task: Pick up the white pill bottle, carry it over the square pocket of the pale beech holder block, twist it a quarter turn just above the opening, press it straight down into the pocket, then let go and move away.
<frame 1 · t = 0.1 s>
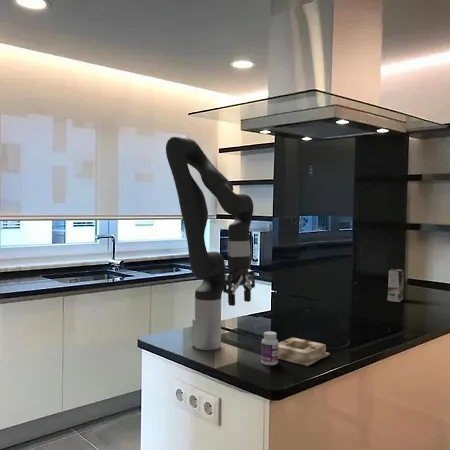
hand: (239, 303, 163), 17 cm above the table, tool pointing down, fingers open, 8 cm apart
pill bottle: (269, 363, 156), on the table
coffee box: (395, 300, 260), on the table
holder: (298, 355, 164), on the table
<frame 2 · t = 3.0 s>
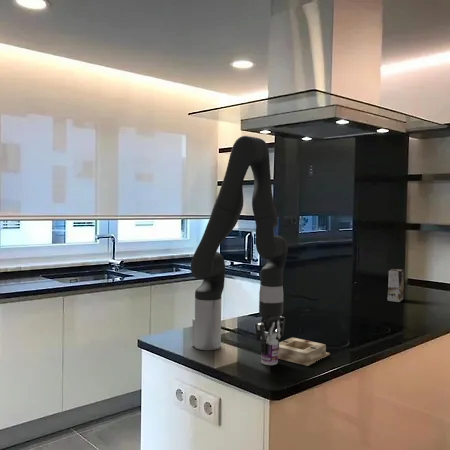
hand: (270, 352, 156), 3 cm above the table, tool pointing down, fingers closed on pill bottle, 5 cm apart
pill bottle: (269, 363, 156), on the table, touching gripper
everything else where it was.
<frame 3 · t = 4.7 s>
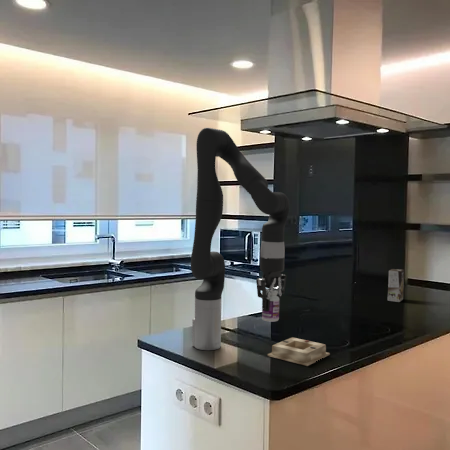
hand: (271, 308, 155), 17 cm above the table, tool pointing down, fingers closed on pill bottle, 5 cm apart
pill bottle: (270, 320, 156), point 14 cm above the table, touching gripper
everything else where it was.
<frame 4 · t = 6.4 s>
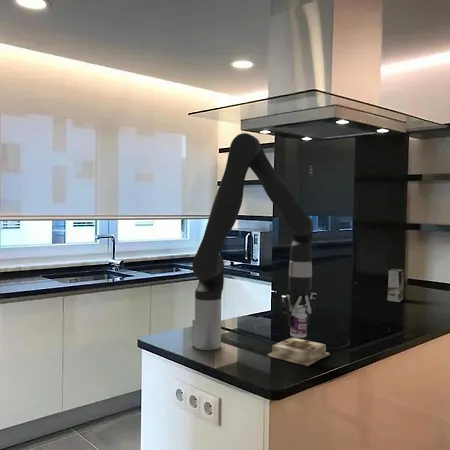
hand: (298, 325, 163), 10 cm above the table, tool pointing down, fingers closed on pill bottle, 5 cm apart
pill bottle: (298, 336, 163), point 7 cm above the table, touching gripper
everything else where it was.
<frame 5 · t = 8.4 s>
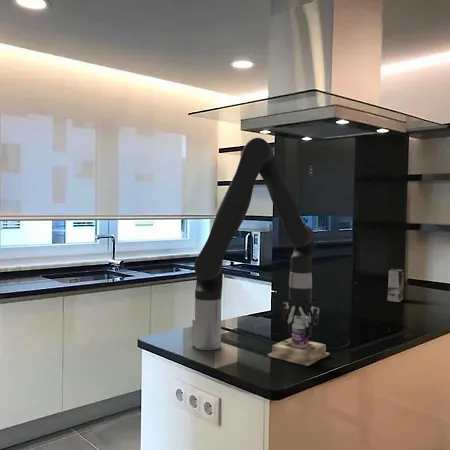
hand: (299, 335, 164), 7 cm above the table, tool pointing down, fingers closed on pill bottle, 5 cm apart
pill bottle: (299, 346, 164), point 3 cm above the table, touching gripper
everything else where it was.
when the fingers open (4 cm above the table, at t = 10.1 s): pill bottle stays where it is, resting on holder.
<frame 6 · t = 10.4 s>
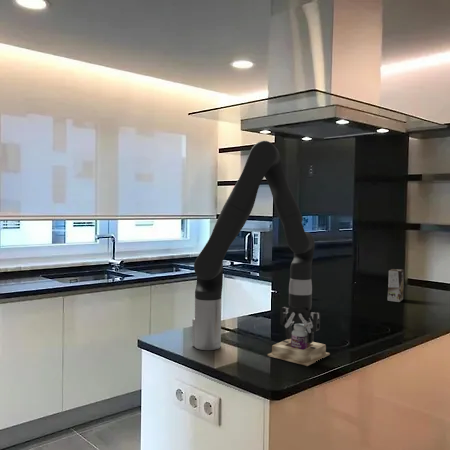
hand: (299, 340, 164), 5 cm above the table, tool pointing down, fingers open, 7 cm apart
pill bottle: (298, 354, 164), resting on holder
everything else where it was.
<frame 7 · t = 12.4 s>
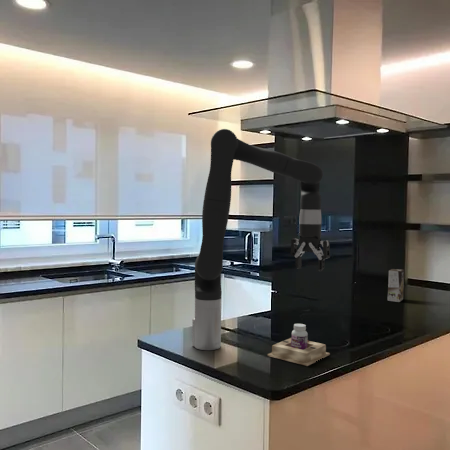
hand: (309, 269, 170), 28 cm above the table, tool pointing down, fingers open, 8 cm apart
nothing on the table moved.
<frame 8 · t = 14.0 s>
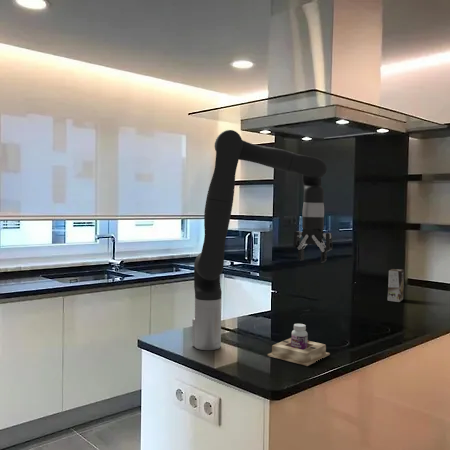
hand: (312, 261, 175), 30 cm above the table, tool pointing down, fingers open, 8 cm apart
nothing on the table moved.
at the end: pill bottle 0.1 cm from the holder (horizontally); pill bottle tilted 0°; the gripper is holding nothing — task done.
